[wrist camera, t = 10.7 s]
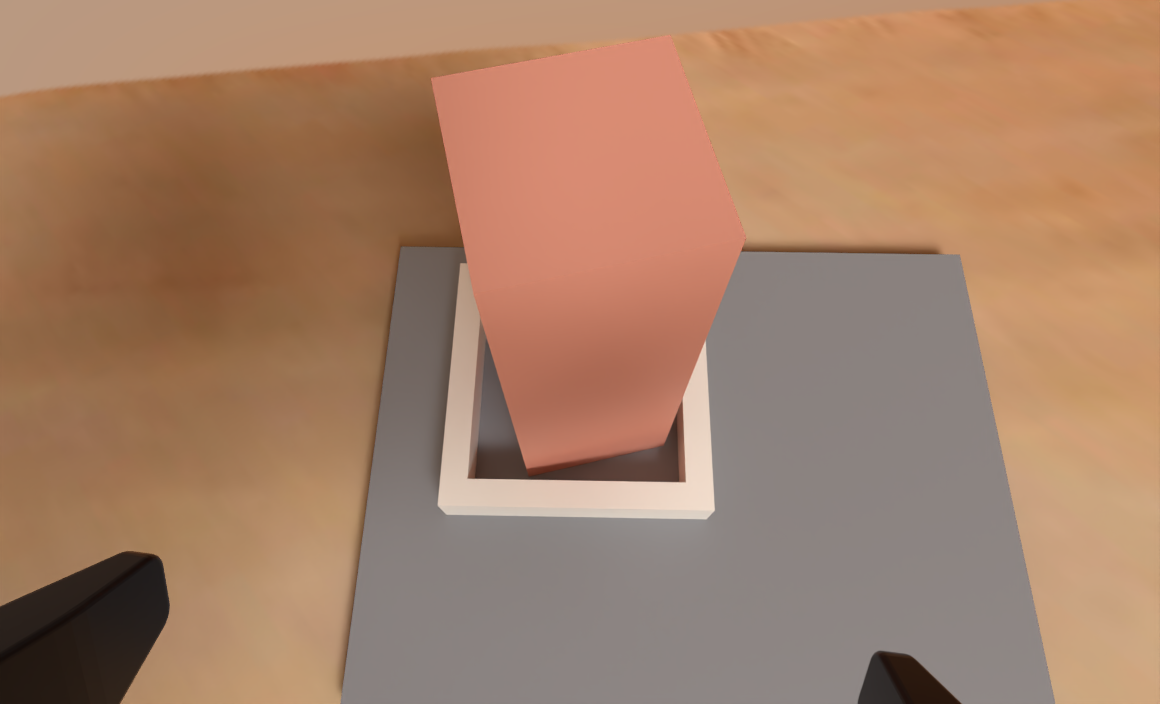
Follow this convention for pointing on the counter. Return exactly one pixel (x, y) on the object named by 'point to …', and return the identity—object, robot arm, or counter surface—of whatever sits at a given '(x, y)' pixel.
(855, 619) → the grey base plate
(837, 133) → the counter surface
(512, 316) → the red post
